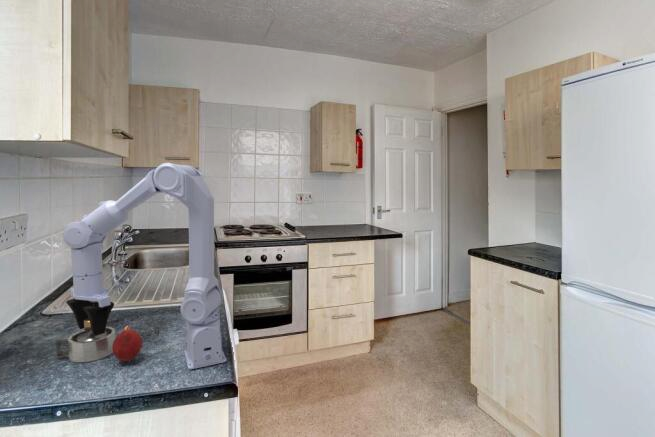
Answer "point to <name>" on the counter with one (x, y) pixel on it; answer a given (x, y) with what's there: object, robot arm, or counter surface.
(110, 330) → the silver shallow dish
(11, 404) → the counter surface
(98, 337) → the plunger
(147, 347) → the counter surface
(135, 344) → the onion
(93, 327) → the robot arm
